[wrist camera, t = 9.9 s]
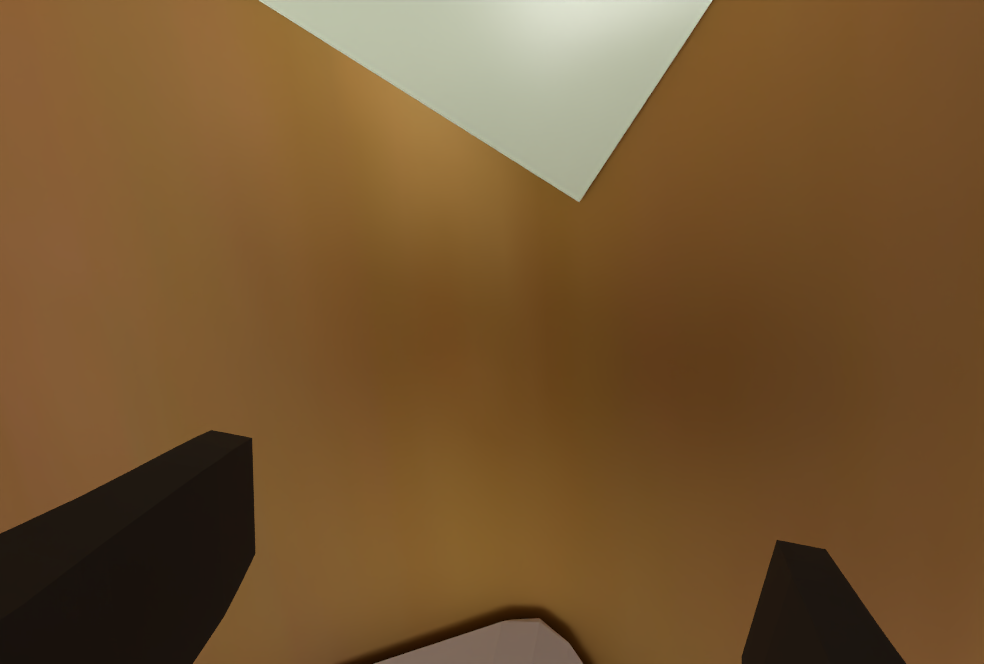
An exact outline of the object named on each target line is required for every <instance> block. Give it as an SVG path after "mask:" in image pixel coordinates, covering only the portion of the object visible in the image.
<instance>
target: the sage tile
mask: <svg viewBox="0 0 984 664" xmlns="http://www.w3.org/2000/svg"><path fill="white" fill-rule="evenodd" d="M259 1H261V2H262V3H264V4H266V5H267V6H269V7H270V8H272V9H273V10H275V11H277V12H278V13H280V14H281V15H283V16H285V17H286V18H288V19H289V20H291V21H292V22H294V23H296V24H297V25H299V26H300V27H302V28H304V29H305V30H307V31H308V32H310V33H312V34H313V35H315V36H316V37H318V38H319V39H321V40H323V41H324V42H326V43H327V44H329V45H331V46H332V47H334V48H335V49H337V50H339V51H340V52H342V53H343V54H345V55H346V56H348V57H350V58H351V59H353V60H354V61H356V62H358V63H359V64H361V65H362V66H364V67H365V68H367V69H369V70H370V71H372V72H373V73H375V74H377V75H378V76H380V77H381V78H383V79H385V80H386V81H388V82H389V83H391V84H392V85H394V86H396V87H397V88H399V89H400V90H402V91H404V92H405V93H407V94H408V95H410V96H412V97H413V98H415V99H416V100H418V101H419V102H421V103H423V104H424V105H426V106H427V107H429V108H431V109H432V110H434V111H435V112H437V113H438V114H440V115H442V116H443V117H445V118H446V119H448V120H450V121H451V122H453V123H454V124H456V125H458V126H459V127H461V128H462V129H464V130H465V131H467V132H469V133H470V134H472V135H473V136H475V137H477V138H478V139H480V140H481V141H483V142H484V143H486V144H488V145H489V146H491V147H492V148H494V149H496V150H497V151H499V152H500V153H502V154H504V155H505V156H507V157H508V158H510V159H511V160H513V161H515V162H516V163H518V164H519V165H521V166H523V167H524V168H526V169H527V170H529V171H531V172H532V173H534V174H535V175H537V176H538V177H540V178H542V179H543V180H545V181H546V182H548V183H550V184H551V185H553V186H554V187H556V188H557V189H559V190H561V191H562V192H564V193H565V194H567V195H569V196H570V197H572V198H573V199H575V200H577V201H578V202H580V200H581V199H582V197H583V196H584V194H585V193H586V191H587V190H588V188H589V187H590V185H591V184H592V182H593V181H594V179H595V178H596V176H597V174H598V173H599V171H600V170H601V168H602V167H603V165H604V164H605V162H606V161H607V159H608V158H609V156H610V155H611V153H612V152H613V150H614V149H615V147H616V146H617V144H618V143H619V141H620V140H621V138H622V137H623V135H624V134H625V132H626V131H627V129H628V128H629V126H630V125H631V123H632V121H633V120H634V118H635V117H636V115H637V114H638V112H639V111H640V109H641V108H642V106H643V105H644V103H645V102H646V100H647V99H648V97H649V96H650V94H651V93H652V91H653V90H654V88H655V87H656V85H657V84H658V82H659V81H660V79H661V78H662V76H663V75H664V73H665V72H666V70H667V68H668V67H669V65H670V64H671V62H672V61H673V59H674V58H675V56H676V55H677V53H678V52H679V50H680V49H681V47H682V46H683V44H684V43H685V41H686V40H687V38H688V37H689V35H690V34H691V32H692V31H693V29H694V28H695V26H696V25H697V23H698V22H699V20H700V19H701V17H702V15H703V14H704V12H705V11H706V9H707V8H708V6H709V5H710V3H711V2H712V0H259Z"/></svg>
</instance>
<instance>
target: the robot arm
mask: <svg viewBox="0 0 984 664" xmlns="http://www.w3.org/2000/svg"><path fill="white" fill-rule="evenodd" d="M254 555H255V524H254V490H253V455H252V438H249V437H244V436H239V435H234V434H228V433H223V432H218V431H213V430H211V431H209V432H206V433H204V434H202V435H200V436H197V437H195V438H193V439H191V440H189V441H187V442H185V443H183V444H181V445H179V446H177V447H175V448H173V449H172V450H170V451H168V452H166V453H164V454H162V455H160V456H158V457H156V458H154V459H152V460H150V461H149V462H147V463H145V464H143V465H141V466H139V467H137V468H135V469H133V470H131V471H129V472H127V473H125V474H124V475H122V476H120V477H118V478H116V479H114V480H112V481H110V482H108V483H106V484H104V485H102V486H100V487H98V488H96V489H94V490H92V491H90V492H88V493H86V494H84V495H82V496H80V497H78V498H76V499H74V500H72V501H70V502H68V503H66V504H63V505H61V506H59V507H57V508H55V509H53V510H51V511H48V512H46V513H44V514H42V515H40V516H38V517H36V518H33V519H31V520H29V521H27V522H25V523H23V524H20V525H18V526H16V527H14V528H12V529H10V530H8V531H5V532H3V533H1V534H0V664H193V662H194V661H195V659H196V658H197V656H198V655H199V653H200V652H201V650H202V649H203V647H204V646H205V644H206V643H207V641H208V640H209V638H210V637H211V635H212V634H213V632H214V631H215V629H216V628H217V626H218V625H219V623H220V622H221V620H222V619H223V617H224V615H225V614H226V612H227V610H228V608H229V606H230V604H231V602H232V600H233V598H234V596H235V594H236V592H237V590H238V588H239V586H240V584H241V582H242V580H243V578H244V576H245V574H246V572H247V570H248V568H249V566H250V563H251V561H252V559H253V557H254ZM742 664H906V663H905V661H904V660H903V659H902V657H901V656H900V655H899V653H898V652H897V651H896V649H895V648H894V647H893V645H892V644H891V642H890V641H889V640H888V638H887V637H886V635H885V634H884V633H883V631H882V630H881V628H880V627H879V626H878V624H877V623H876V621H875V620H874V618H873V617H872V616H871V614H870V613H869V611H868V610H867V608H866V607H865V606H864V604H863V603H862V601H861V600H860V598H859V597H858V595H857V594H856V593H855V591H854V590H853V588H852V587H851V585H850V584H849V582H848V581H847V579H846V578H845V577H844V575H843V574H842V572H841V571H840V569H839V568H838V566H837V565H836V564H835V562H834V561H833V559H832V558H831V556H830V555H829V554H828V552H827V551H826V549H821V548H815V547H810V546H805V545H800V544H795V543H790V542H785V541H779V540H777V542H776V545H775V548H774V552H773V555H772V558H771V561H770V565H769V568H768V571H767V575H766V578H765V581H764V585H763V588H762V591H761V595H760V598H759V601H758V605H757V608H756V611H755V615H754V618H753V621H752V624H751V628H750V631H749V634H748V638H747V641H746V644H745V648H744V651H743V654H742Z"/></svg>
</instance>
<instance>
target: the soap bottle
mask: <svg viewBox="0 0 984 664" xmlns="http://www.w3.org/2000/svg"><path fill="white" fill-rule="evenodd" d="M374 664H583V663H582V661H581V660H580V658H579V657H578V655H577V654H576V652H575V651H574V649H573V648H572V646H571V645H570V643H569V642H567V641H566V640H565V639H564V638H563V637H561V636H560V635H559V634H558V633H556V632H555V631H554V630H553V629H552V628H550V627H549V626H548V625H547V624H546V623H544V622H543V621H542V620H541V619H540V618H534V619H512V620H506V621H502V622H499V623H496V624H493V625H490V626H487V627H484V628H481V629H478V630H475V631H471V632H468V633H465V634H462V635H459V636H456V637H453V638H450V639H447V640H444V641H441V642H438V643H435V644H432V645H429V646H426V647H423V648H420V649H417V650H414V651H411V652H408V653H405V654H402V655H399V656H396V657H393V658H390V659H386V660H383V661H380V662H377V663H374Z"/></svg>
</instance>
